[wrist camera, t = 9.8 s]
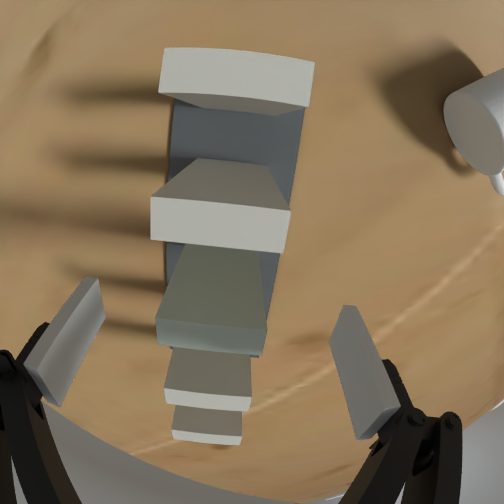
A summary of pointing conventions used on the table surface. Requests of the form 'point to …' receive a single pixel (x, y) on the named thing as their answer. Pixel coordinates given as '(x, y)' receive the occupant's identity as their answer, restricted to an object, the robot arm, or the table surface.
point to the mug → (479, 125)
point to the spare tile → (214, 302)
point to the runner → (236, 158)
